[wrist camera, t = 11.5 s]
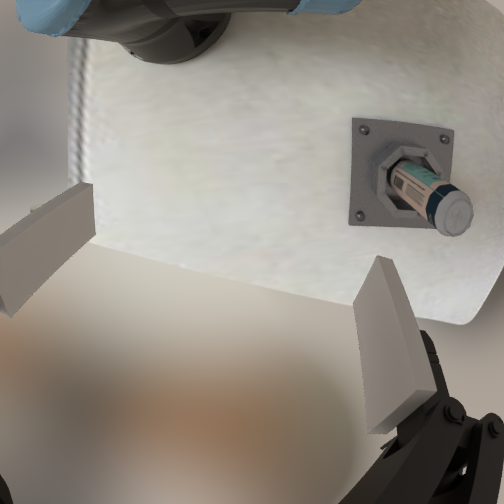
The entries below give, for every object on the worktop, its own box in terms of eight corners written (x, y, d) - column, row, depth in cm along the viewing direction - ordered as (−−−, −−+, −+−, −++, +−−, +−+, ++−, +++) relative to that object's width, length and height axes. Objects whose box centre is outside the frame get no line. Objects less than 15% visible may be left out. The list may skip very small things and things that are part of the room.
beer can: (401, 201, 34) (450, 249, 24) (381, 176, 32) (432, 218, 22) (425, 178, 32) (481, 218, 22) (407, 151, 30) (466, 184, 20)
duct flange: (352, 117, 31) (357, 119, 28) (451, 129, 29) (464, 133, 25) (348, 223, 38) (352, 235, 35) (439, 227, 35) (449, 238, 32)
